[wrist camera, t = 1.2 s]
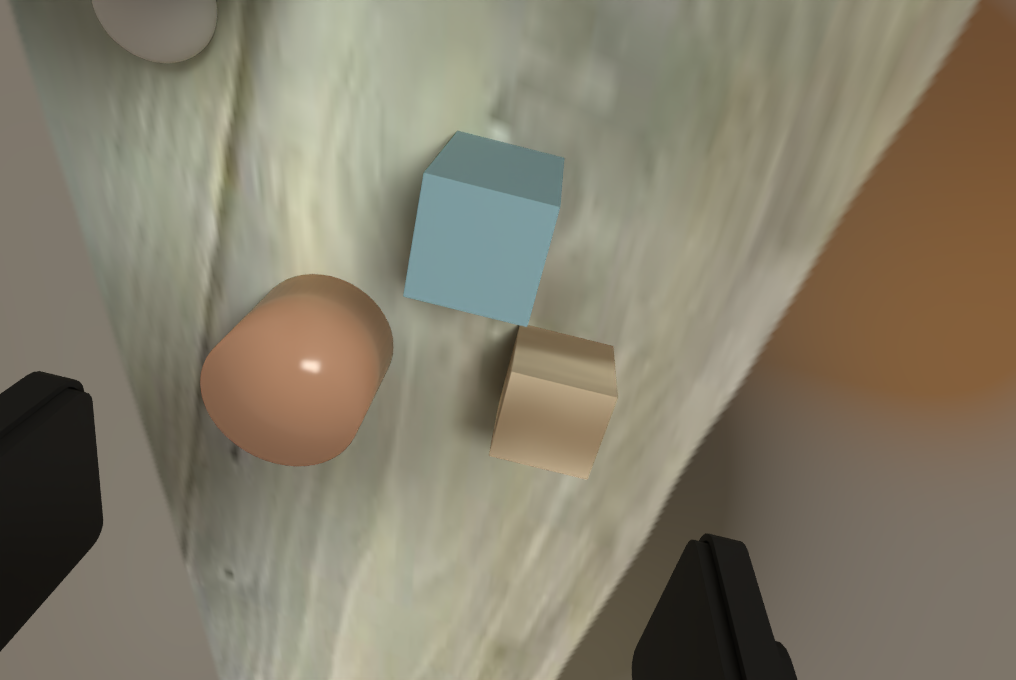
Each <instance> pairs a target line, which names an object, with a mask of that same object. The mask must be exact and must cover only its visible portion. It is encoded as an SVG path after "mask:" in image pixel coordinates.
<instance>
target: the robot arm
mask: <svg viewBox="0 0 1016 680" xmlns="http://www.w3.org/2000/svg"><path fill="white" fill-rule="evenodd" d="M102 526H103V513H102V502H101V491H100V480H99V468H98V457H97V446H96V435H95V425H94V413H93V401H92V397H91V396H90V394H89V393H86V392H84V389H83V385H82V384H81V383H80V382H79V381H77V380H74V379H70V378H66V377H62V376H57V375H53V374H49V373H45V372H41V371H38V372H33V373H31V374H29V375H27V376H25V377H24V378H22V379H21V380H20V381H18V382H17V383H15V384H14V385H12V386H11V387H10V388H8V389H7V390H5V391H4V392H2V393H1V394H0V651H1V650H2V649H3V648H4V647H5V646H6V645H7V643H8V642H9V641H10V640H11V639H12V638H13V637H14V635H15V634H16V633H17V632H18V631H19V630H20V629H21V627H22V626H23V625H24V624H25V623H26V622H27V620H28V619H29V618H30V617H31V616H32V615H33V614H34V613H35V611H36V610H37V609H38V608H39V607H40V606H41V605H42V603H43V602H44V601H45V600H46V599H47V598H48V596H49V595H50V594H51V593H52V592H53V591H54V590H55V589H56V587H57V586H58V585H59V584H60V583H61V582H62V581H63V579H64V578H65V577H66V576H67V575H68V574H69V573H70V571H71V570H72V569H73V568H74V567H75V566H76V565H77V563H78V562H79V561H80V560H81V559H82V558H83V557H84V556H85V554H86V553H87V552H88V551H89V550H90V549H91V547H92V546H93V545H94V544H95V542H96V541H97V539H98V537H99V535H100V533H101V530H102ZM632 680H797V677H796V674H795V671H794V667H793V664H792V661H791V658H790V656H789V654H788V652H787V650H786V648H785V647H784V646H783V645H782V644H781V643H780V642H777V641H775V639H774V636H773V633H772V629H771V626H770V623H769V620H768V616H767V613H766V610H765V606H764V603H763V600H762V596H761V593H760V590H759V586H758V583H757V580H756V576H755V573H754V570H753V567H752V563H751V560H750V557H749V553H748V550H747V548H746V546H745V544H744V543H743V542H741V541H737V540H733V539H729V538H725V537H720V536H716V535H712V534H704V535H703V536H702V537H701V538H700V540H699V541H696V540H690V541H689V542H688V544H687V545H686V547H685V549H684V551H683V553H682V555H681V557H680V559H679V561H678V563H677V565H676V568H675V569H674V571H673V573H672V575H671V577H670V580H669V582H668V584H667V586H666V588H665V590H664V592H663V594H662V596H661V598H660V600H659V602H658V604H657V606H656V608H655V610H654V612H653V614H652V616H651V618H650V620H649V622H648V624H647V626H646V628H645V630H644V632H643V634H642V636H641V638H640V640H639V642H638V644H637V646H636V649H635V651H634V655H633V661H632Z"/></svg>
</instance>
